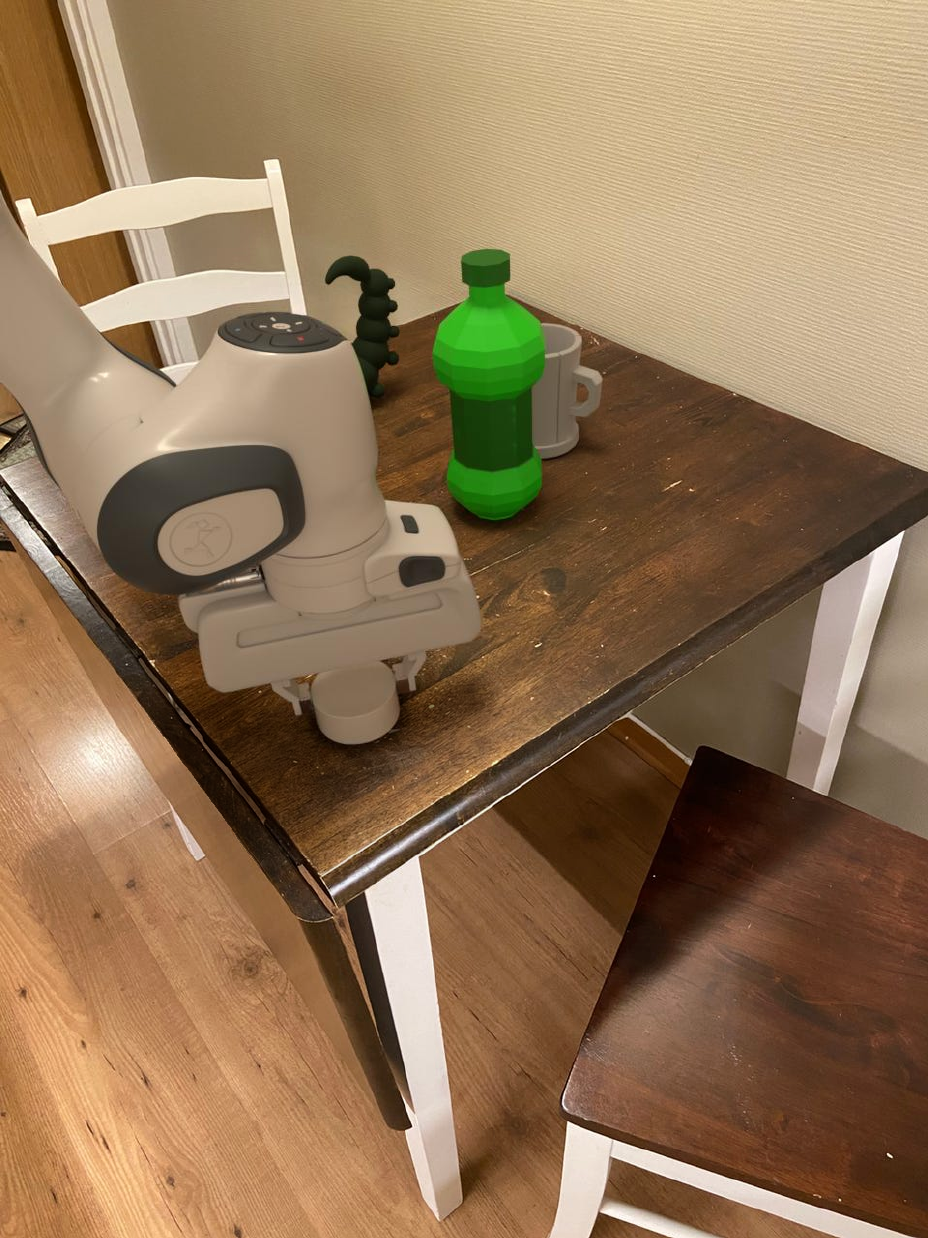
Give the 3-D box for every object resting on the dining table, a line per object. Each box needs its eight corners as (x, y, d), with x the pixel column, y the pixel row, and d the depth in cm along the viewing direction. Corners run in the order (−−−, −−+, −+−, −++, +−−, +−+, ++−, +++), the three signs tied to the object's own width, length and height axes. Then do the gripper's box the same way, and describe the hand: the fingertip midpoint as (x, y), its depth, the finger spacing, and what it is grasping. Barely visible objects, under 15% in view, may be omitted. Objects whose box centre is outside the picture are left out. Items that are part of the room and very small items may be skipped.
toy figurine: (372, 391, 116) (198, 445, 103) (363, 239, 105) (166, 278, 92) (416, 414, 110) (237, 474, 97) (411, 256, 99) (208, 301, 86)
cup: (583, 416, 104) (586, 316, 96) (602, 455, 97) (607, 351, 89) (495, 426, 103) (491, 327, 96) (508, 466, 96) (504, 362, 89)
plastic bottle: (435, 490, 94) (412, 247, 77) (530, 472, 95) (527, 231, 79) (458, 542, 86) (438, 286, 70) (560, 522, 88) (564, 267, 72)
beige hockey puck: (321, 752, 67) (314, 726, 65) (312, 693, 72) (306, 666, 70) (407, 734, 68) (402, 707, 66) (392, 676, 73) (388, 649, 71)
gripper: (169, 613, 56) (222, 756, 65) (482, 552, 58) (491, 698, 67) (171, 556, 60) (220, 697, 69) (460, 502, 63) (471, 644, 72)
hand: (356, 697), depth 68 cm, fingers closed on beige hockey puck, 6 cm apart
